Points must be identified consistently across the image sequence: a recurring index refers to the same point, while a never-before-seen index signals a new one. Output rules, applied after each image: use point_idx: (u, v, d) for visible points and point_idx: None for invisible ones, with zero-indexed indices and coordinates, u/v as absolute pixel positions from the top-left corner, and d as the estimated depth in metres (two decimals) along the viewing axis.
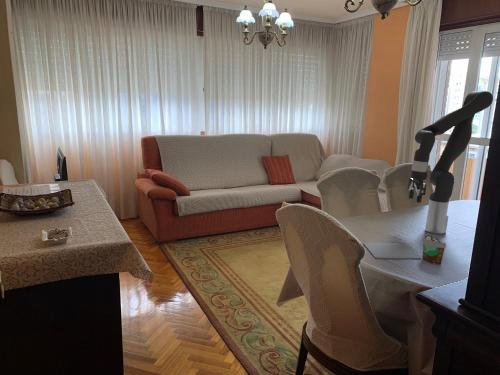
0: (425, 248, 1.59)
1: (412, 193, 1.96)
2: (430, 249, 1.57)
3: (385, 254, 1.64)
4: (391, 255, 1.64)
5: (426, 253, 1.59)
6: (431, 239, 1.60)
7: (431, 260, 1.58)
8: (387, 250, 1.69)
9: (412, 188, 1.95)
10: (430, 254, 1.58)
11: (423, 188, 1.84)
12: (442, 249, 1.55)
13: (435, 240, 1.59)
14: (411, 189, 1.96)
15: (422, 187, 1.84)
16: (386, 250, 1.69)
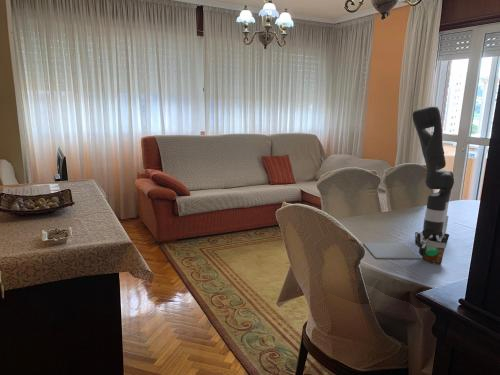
0: (425, 248, 1.59)
1: None
2: (430, 249, 1.57)
3: (385, 254, 1.64)
4: (391, 255, 1.64)
5: (426, 253, 1.59)
6: None
7: (431, 260, 1.58)
8: (387, 250, 1.69)
9: (425, 243, 1.59)
10: (430, 254, 1.58)
11: None
12: (442, 249, 1.55)
13: None
14: None
15: None
16: (386, 250, 1.69)
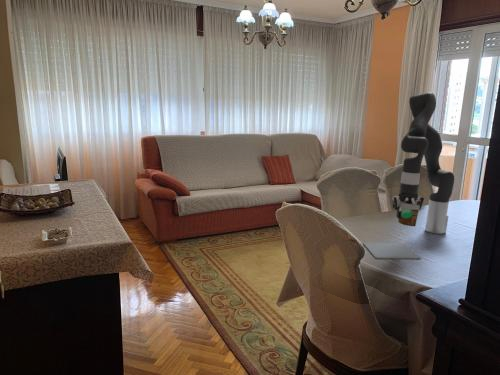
0: None
1: None
2: (405, 212, 1.63)
3: (385, 254, 1.64)
4: (391, 255, 1.64)
5: (401, 216, 1.65)
6: None
7: (406, 222, 1.63)
8: (387, 250, 1.69)
9: None
10: (405, 216, 1.63)
11: None
12: (416, 211, 1.60)
13: None
14: None
15: None
16: (386, 250, 1.69)
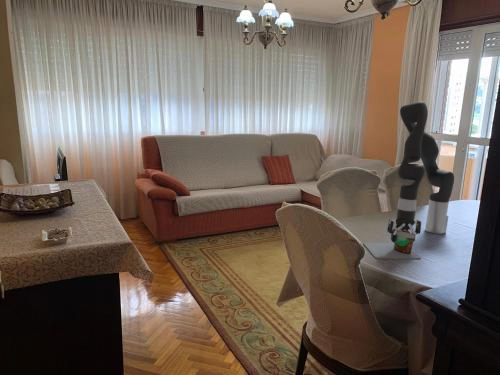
0: (396, 238, 1.68)
1: None
2: (400, 240, 1.66)
3: (385, 254, 1.64)
4: (391, 255, 1.64)
5: (397, 243, 1.68)
6: (402, 230, 1.68)
7: (401, 250, 1.66)
8: (387, 250, 1.69)
9: None
10: (400, 244, 1.66)
11: None
12: (411, 239, 1.63)
13: (406, 231, 1.67)
14: None
15: None
16: (386, 250, 1.69)
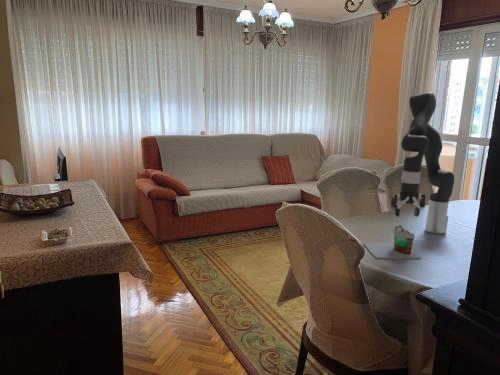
0: (396, 238, 1.68)
1: None
2: (400, 240, 1.66)
3: (385, 254, 1.64)
4: (391, 255, 1.64)
5: (397, 243, 1.68)
6: (401, 230, 1.68)
7: (401, 250, 1.66)
8: (387, 250, 1.69)
9: (401, 204, 1.64)
10: (400, 244, 1.66)
11: None
12: (411, 239, 1.63)
13: (405, 231, 1.67)
14: None
15: None
16: (386, 250, 1.69)
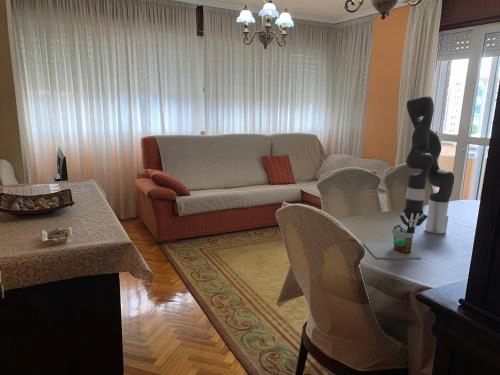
0: (395, 238, 1.68)
1: None
2: (399, 240, 1.66)
3: (385, 254, 1.64)
4: (391, 255, 1.64)
5: (396, 243, 1.68)
6: (400, 230, 1.68)
7: (401, 250, 1.66)
8: (387, 250, 1.69)
9: None
10: (399, 244, 1.66)
11: None
12: (410, 239, 1.63)
13: (404, 231, 1.67)
14: None
15: None
16: (386, 250, 1.69)
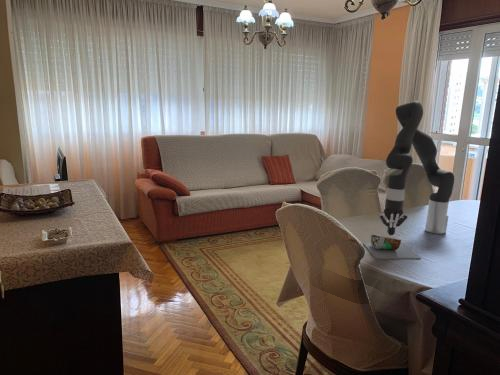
0: (383, 248, 1.69)
1: None
2: (385, 247, 1.67)
3: (385, 254, 1.64)
4: (391, 255, 1.64)
5: (388, 248, 1.68)
6: (375, 240, 1.70)
7: (395, 247, 1.66)
8: (387, 250, 1.69)
9: None
10: (389, 247, 1.67)
11: None
12: (385, 239, 1.64)
13: (377, 239, 1.69)
14: None
15: None
16: (386, 250, 1.69)
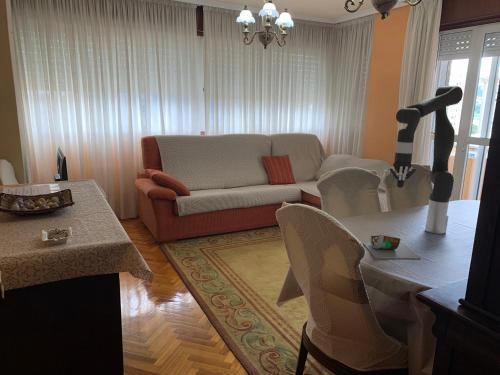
0: None
1: None
2: (384, 246, 1.67)
3: (385, 254, 1.64)
4: (391, 255, 1.64)
5: (388, 248, 1.68)
6: (375, 240, 1.71)
7: (395, 246, 1.67)
8: (387, 250, 1.69)
9: None
10: (389, 246, 1.67)
11: None
12: (385, 237, 1.65)
13: (376, 238, 1.69)
14: None
15: None
16: (386, 250, 1.69)
